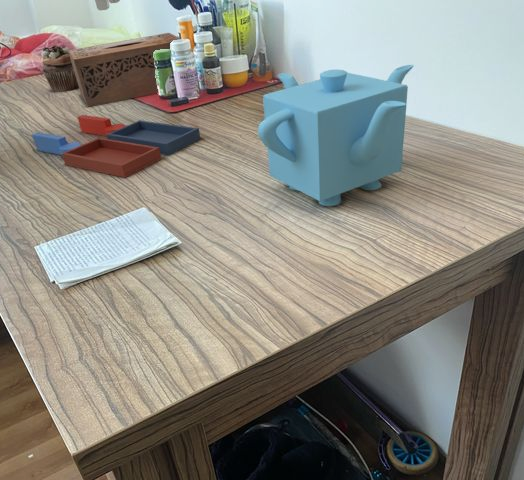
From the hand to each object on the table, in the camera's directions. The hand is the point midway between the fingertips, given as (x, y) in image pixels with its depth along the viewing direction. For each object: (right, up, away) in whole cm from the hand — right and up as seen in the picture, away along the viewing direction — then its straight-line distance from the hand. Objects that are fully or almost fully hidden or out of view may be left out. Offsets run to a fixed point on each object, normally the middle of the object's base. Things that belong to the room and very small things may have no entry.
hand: (109, 6), depth 87 cm
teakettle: (+37, -35, -14) cm, 53 cm away
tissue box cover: (-6, +7, +42) cm, 43 cm away
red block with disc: (-6, -15, +16) cm, 23 cm away
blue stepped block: (-12, -22, +9) cm, 26 cm away
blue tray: (+6, -20, +9) cm, 22 cm away
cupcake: (-27, +13, +52) cm, 60 cm away
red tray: (0, -26, +2) cm, 26 cm away
